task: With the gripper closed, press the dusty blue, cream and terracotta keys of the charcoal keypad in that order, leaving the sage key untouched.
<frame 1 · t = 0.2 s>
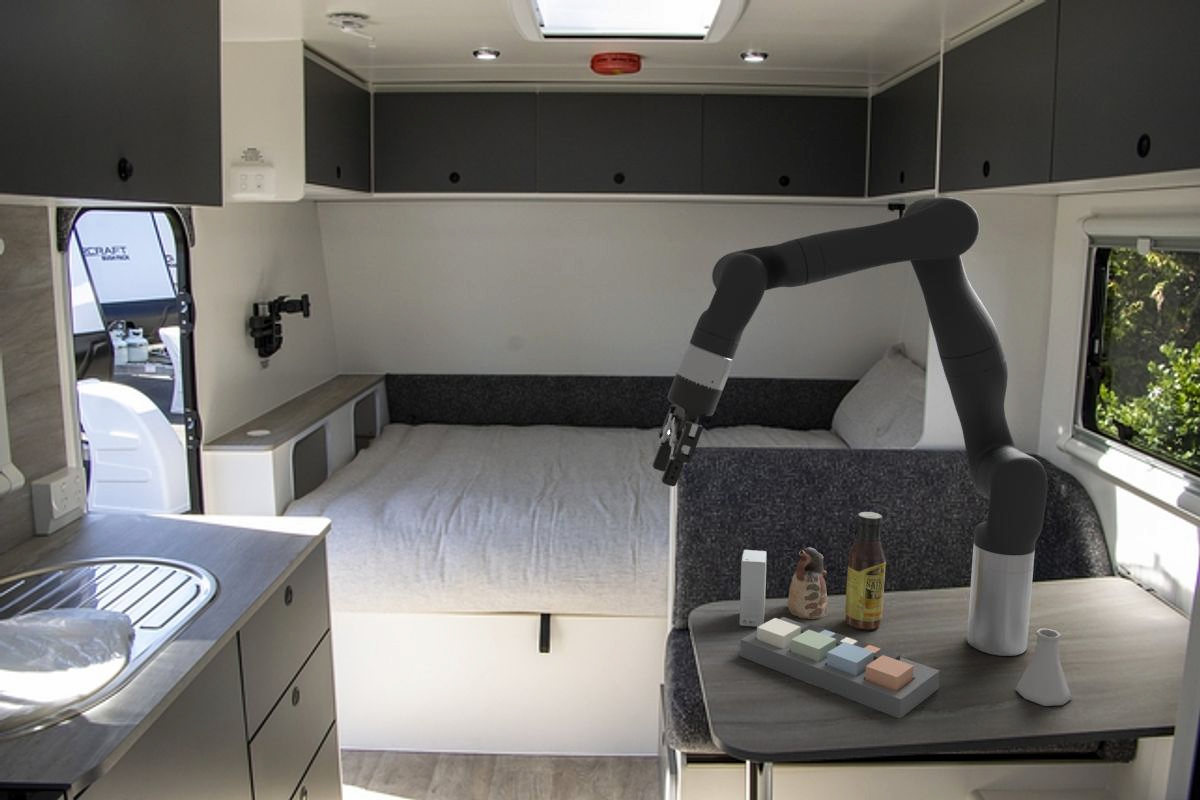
hand: (662, 476, 148), 31 cm above the table, tool tilted 20°, fingers open, 8 cm apart
keypad board: (835, 672, 151), on the table
key cream: (778, 634, 155), point 4 cm above the table, slide at 0.0 cm
skincare box: (752, 620, 170), on the table
figurine: (807, 612, 173), on the table
key sage: (813, 646, 151), point 4 cm above the table, slide at 0.0 cm
key blue: (850, 659, 147), point 4 cm above the table, slide at 0.0 cm
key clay: (889, 673, 142), point 4 cm above the table, slide at 0.0 cm
sauce bottle: (863, 624, 168), on the table
flask: (1042, 696, 143), on the table
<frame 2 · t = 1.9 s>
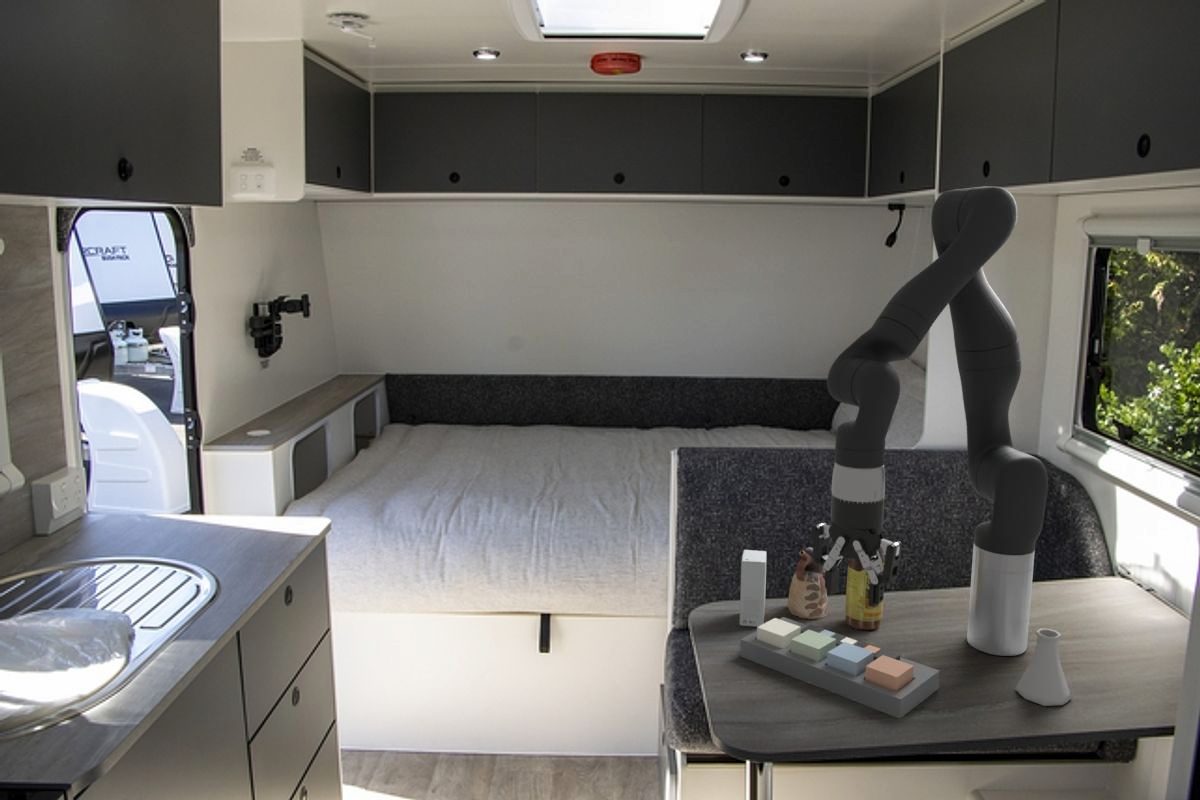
hand: (853, 598, 145), 14 cm above the table, tool pointing down, fingers open, 6 cm apart
nothing on the table moved.
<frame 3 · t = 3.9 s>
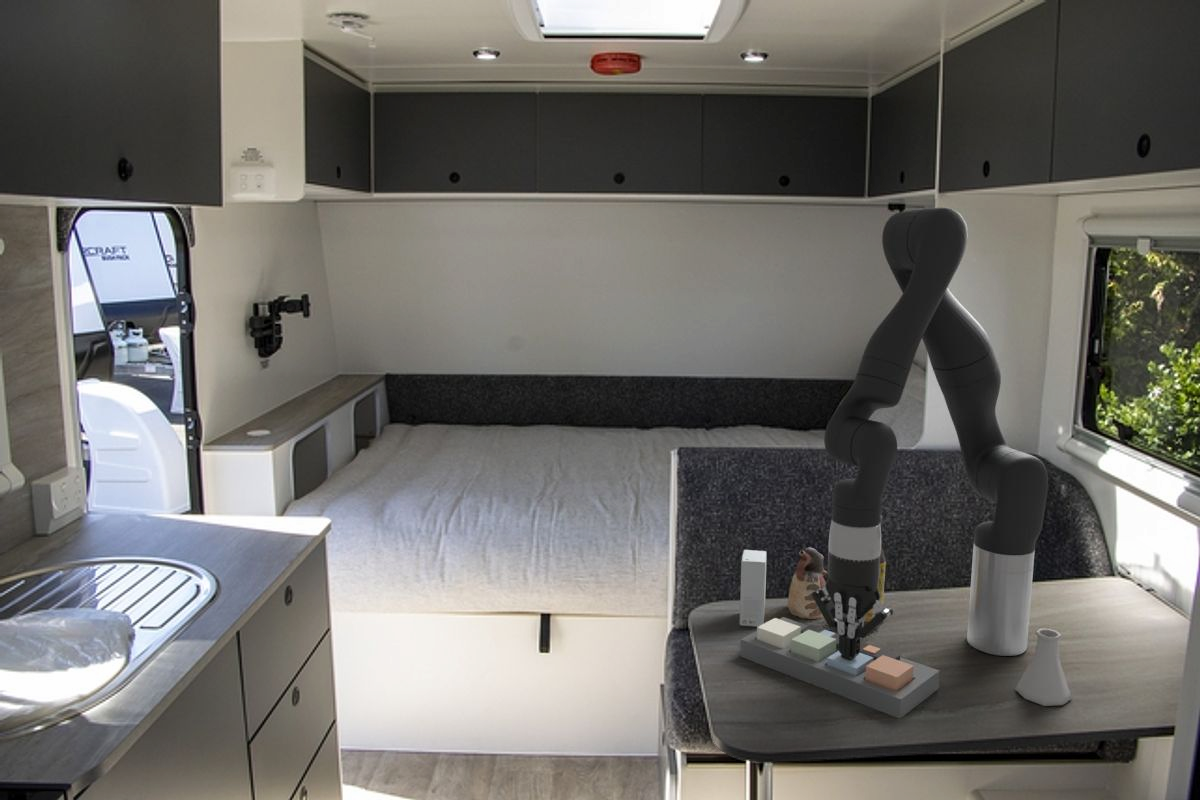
hand: (848, 657, 146), 4 cm above the table, tool pointing down, fingers closed
key blue: (850, 665, 147), point 3 cm above the table, slide at 0.9 cm, touching gripper
everything else where it was.
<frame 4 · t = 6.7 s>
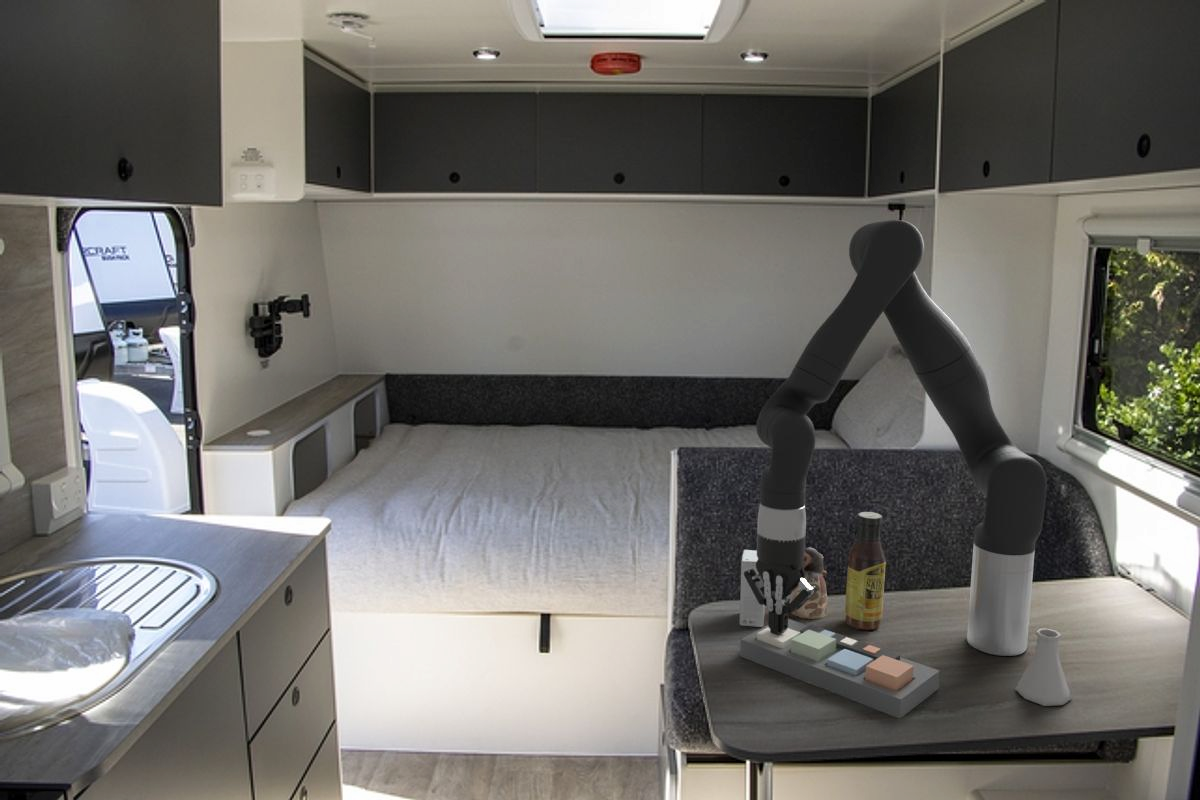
hand: (777, 632, 156), 4 cm above the table, tool pointing down, fingers closed
key cream: (778, 640, 156), point 3 cm above the table, slide at 1.0 cm, touching gripper
key blue: (849, 666, 147), point 3 cm above the table, slide at 1.1 cm
everything else where it was.
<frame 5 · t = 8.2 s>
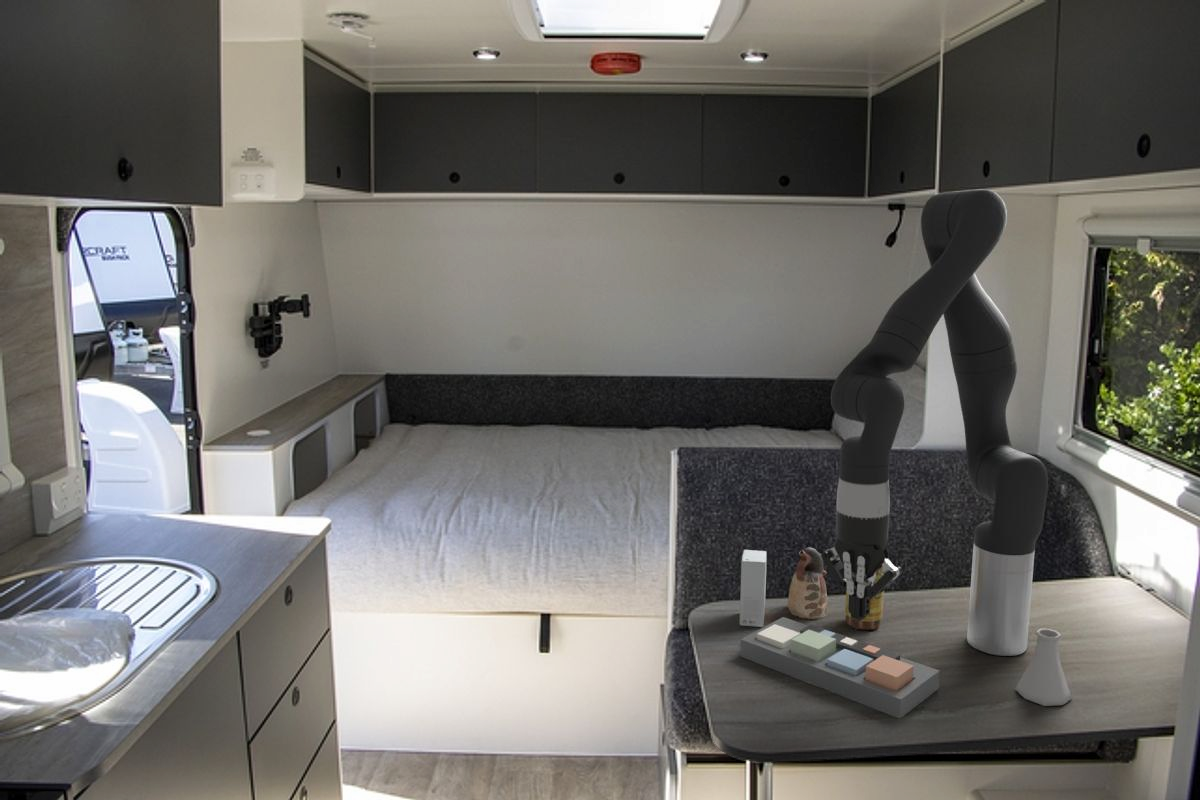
hand: (858, 617, 145), 11 cm above the table, tool pointing down, fingers closed
key cream: (778, 640, 156), point 3 cm above the table, slide at 1.1 cm
everything else where it was.
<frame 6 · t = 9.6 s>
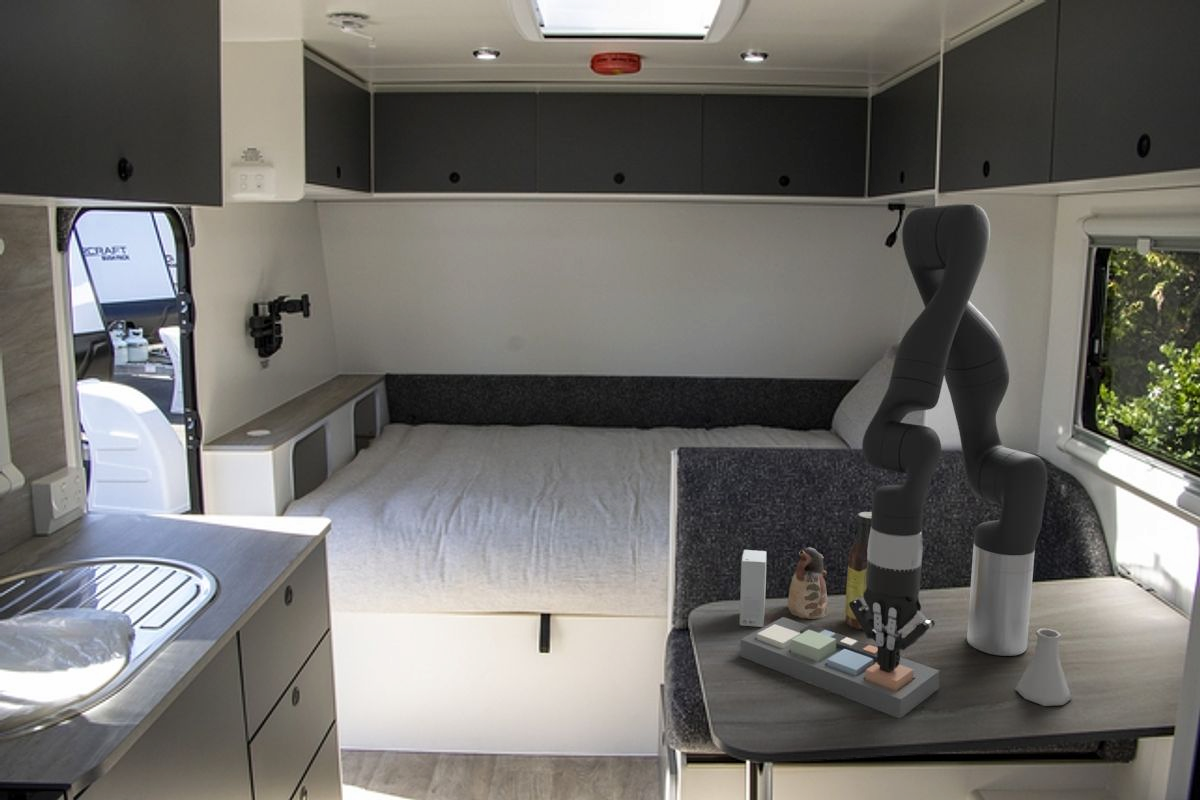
hand: (887, 669, 142), 4 cm above the table, tool pointing down, fingers closed
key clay: (889, 677, 142), point 3 cm above the table, slide at 0.6 cm, touching gripper
everything else where it was.
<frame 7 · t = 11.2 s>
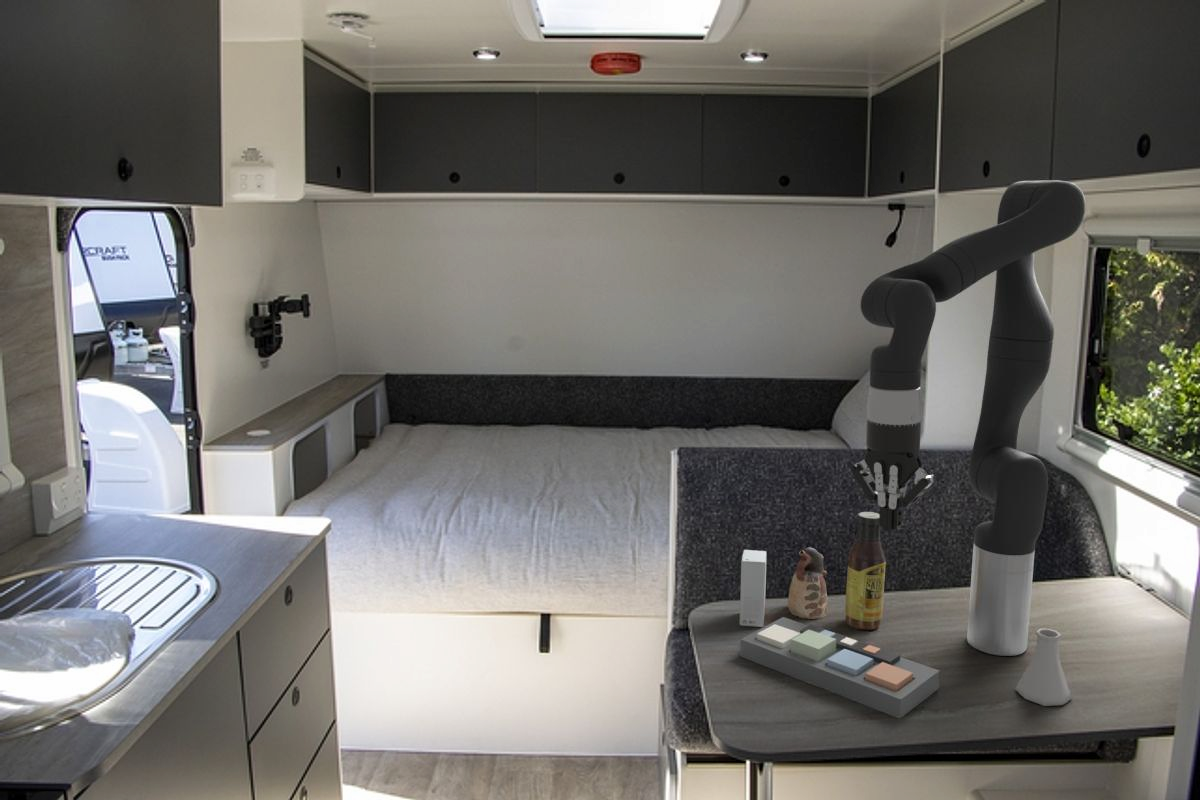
hand: (890, 530, 143), 24 cm above the table, tool pointing down, fingers closed
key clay: (888, 680, 142), point 3 cm above the table, slide at 1.1 cm
everything else where it was.
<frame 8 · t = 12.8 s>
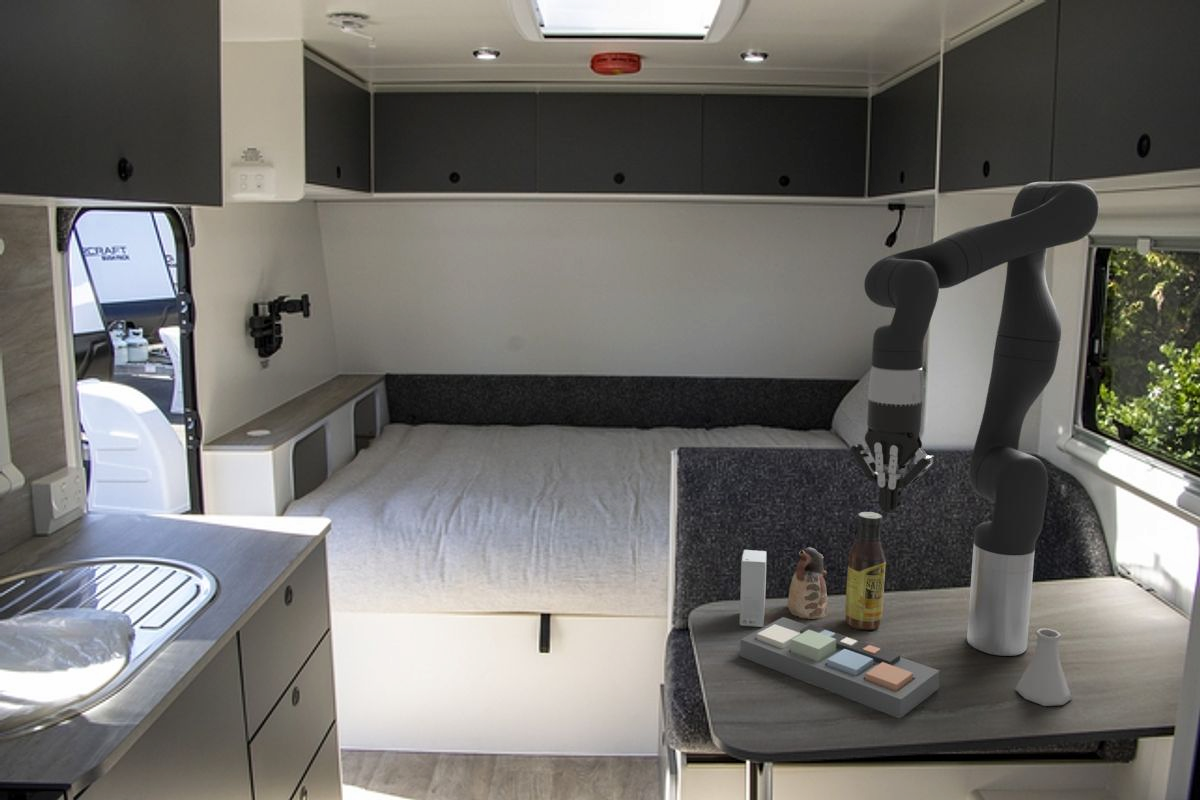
hand: (889, 511, 143), 27 cm above the table, tool pointing down, fingers closed
nothing on the table moved.
at the end: key blue slide at 1.1 cm; key cream slide at 1.1 cm; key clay slide at 1.1 cm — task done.
